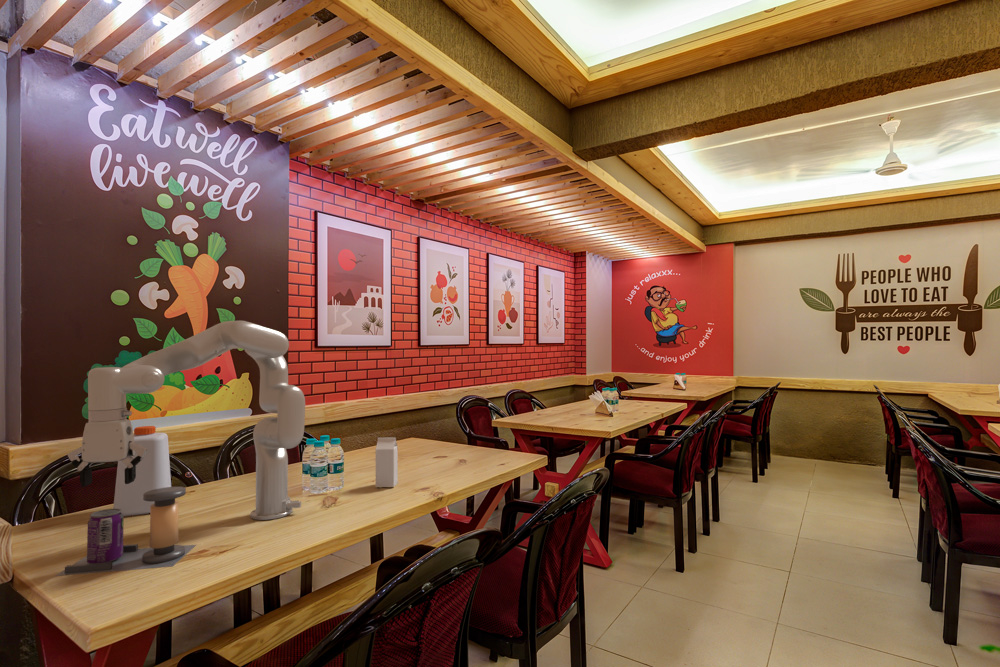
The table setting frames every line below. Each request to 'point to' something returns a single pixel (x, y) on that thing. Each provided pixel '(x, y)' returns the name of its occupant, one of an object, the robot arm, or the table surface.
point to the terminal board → (120, 562)
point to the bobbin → (164, 525)
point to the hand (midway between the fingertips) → (108, 484)
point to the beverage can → (105, 536)
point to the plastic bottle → (144, 472)
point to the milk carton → (386, 462)
